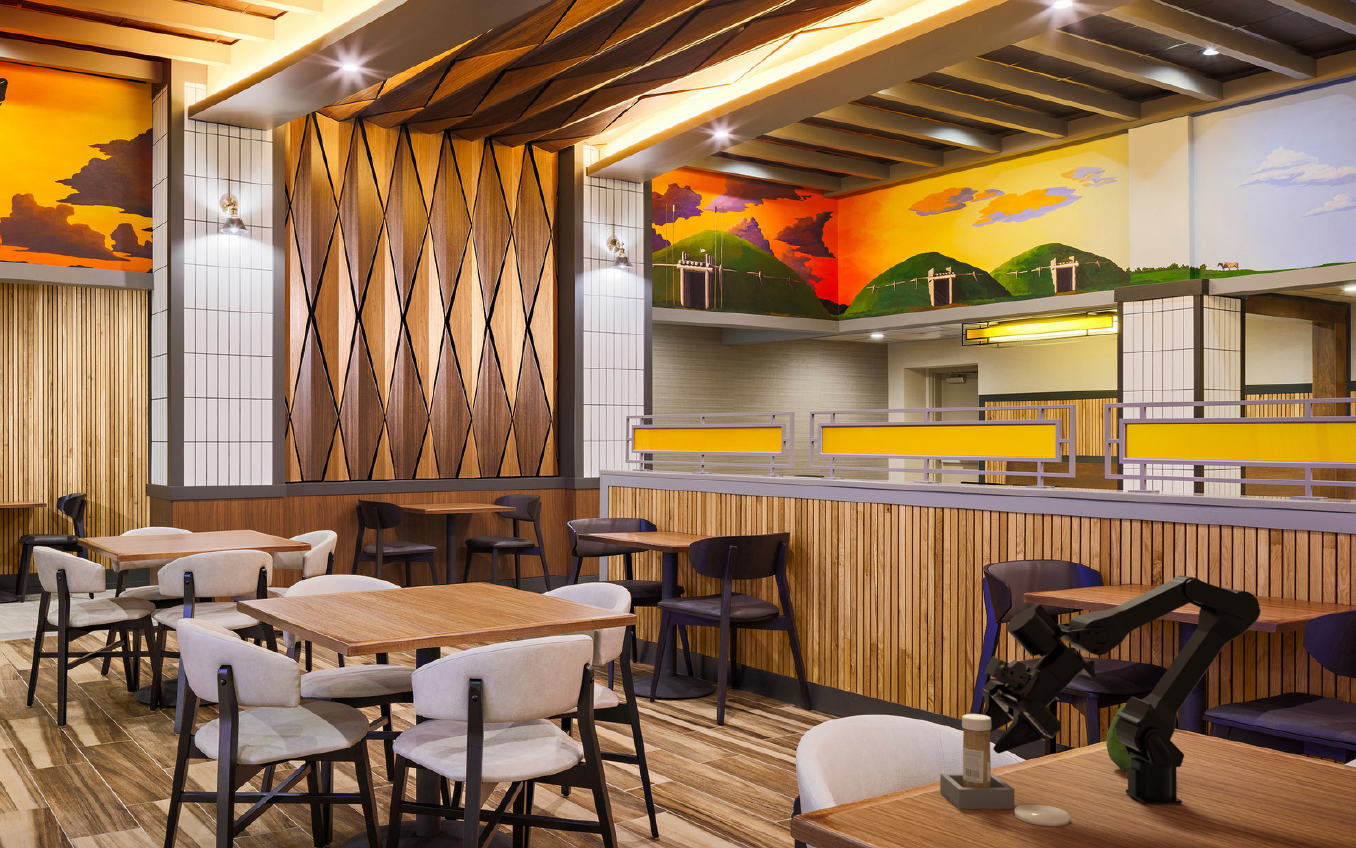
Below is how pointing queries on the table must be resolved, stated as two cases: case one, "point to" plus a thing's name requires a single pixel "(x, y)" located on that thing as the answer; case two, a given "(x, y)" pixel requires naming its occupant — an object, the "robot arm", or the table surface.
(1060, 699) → the robot arm
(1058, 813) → the white round coaster
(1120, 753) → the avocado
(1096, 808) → the table surface
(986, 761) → the sprinkles bottle
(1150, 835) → the table surface
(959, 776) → the sleeve
